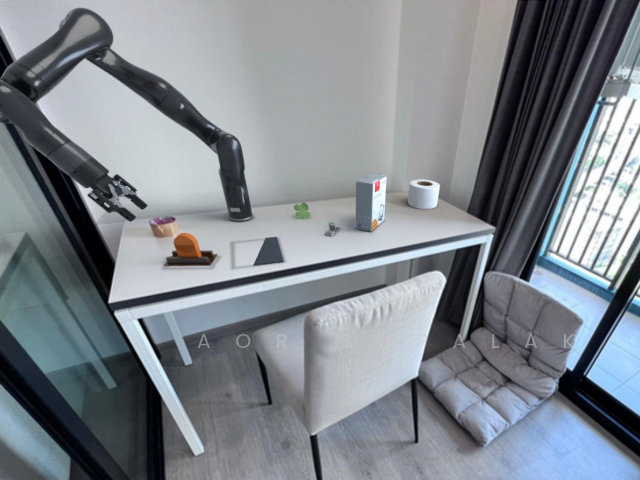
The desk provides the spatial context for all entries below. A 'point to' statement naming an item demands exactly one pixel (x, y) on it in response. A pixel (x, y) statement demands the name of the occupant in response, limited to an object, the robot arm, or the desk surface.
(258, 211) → the desk surface
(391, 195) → the desk surface
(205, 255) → the holder
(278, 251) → the felt mat
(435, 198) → the white paper roll
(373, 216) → the hard drive box
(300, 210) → the green clover
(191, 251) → the orange curved block
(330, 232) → the strap clip
